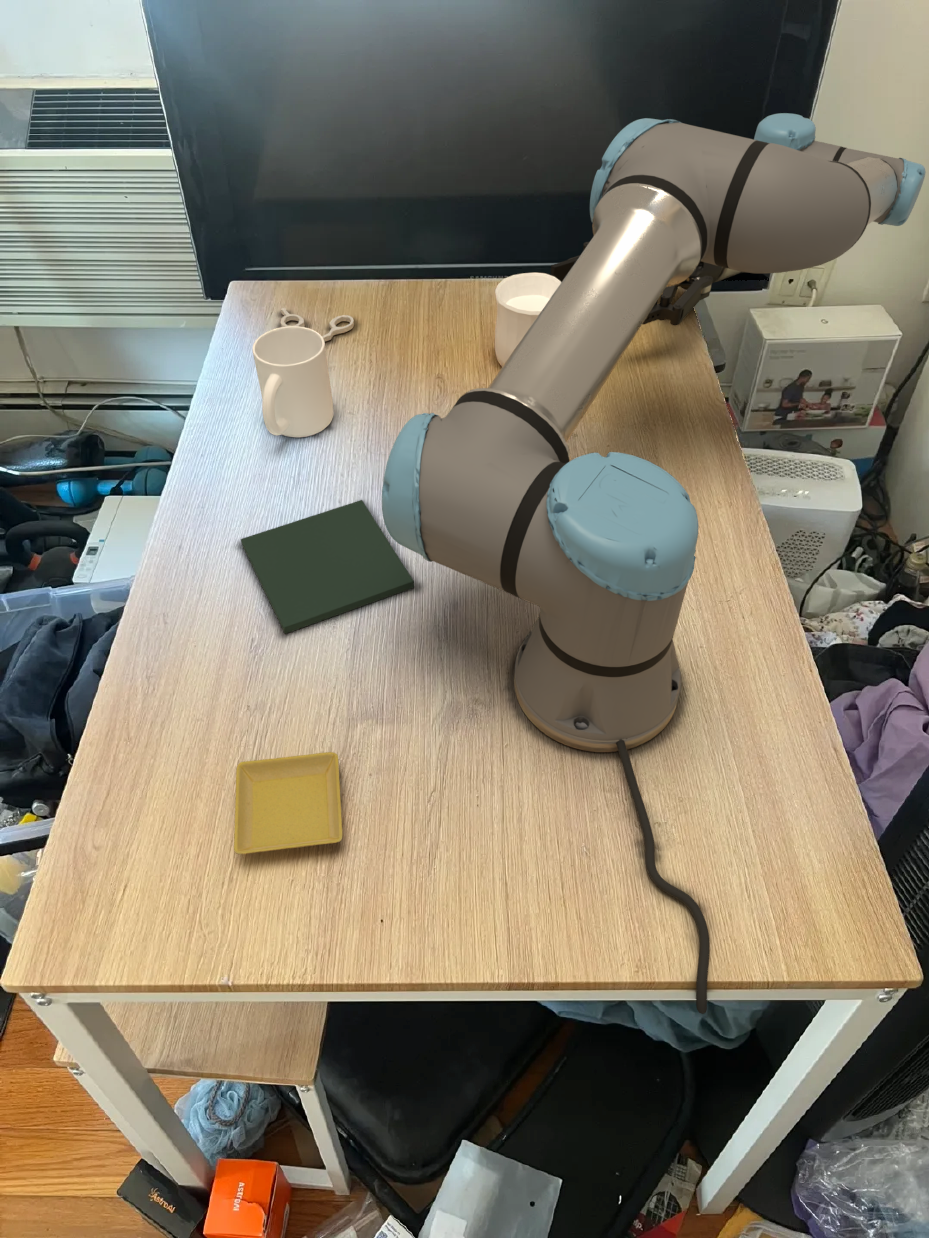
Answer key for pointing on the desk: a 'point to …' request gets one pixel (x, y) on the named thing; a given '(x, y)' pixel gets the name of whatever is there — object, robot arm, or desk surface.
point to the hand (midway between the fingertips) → (581, 298)
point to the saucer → (287, 803)
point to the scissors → (332, 324)
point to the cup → (519, 308)
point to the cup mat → (325, 565)
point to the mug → (293, 381)
